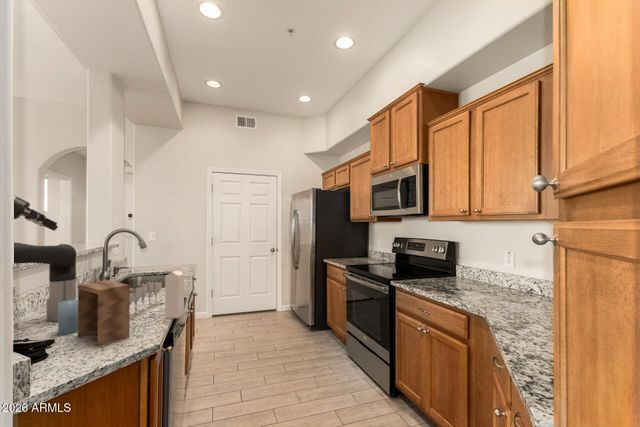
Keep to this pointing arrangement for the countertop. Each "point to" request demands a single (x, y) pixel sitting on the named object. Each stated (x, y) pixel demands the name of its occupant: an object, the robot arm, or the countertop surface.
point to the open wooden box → (104, 310)
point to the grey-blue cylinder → (67, 317)
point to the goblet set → (144, 294)
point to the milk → (174, 294)
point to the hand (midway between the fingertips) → (56, 227)
